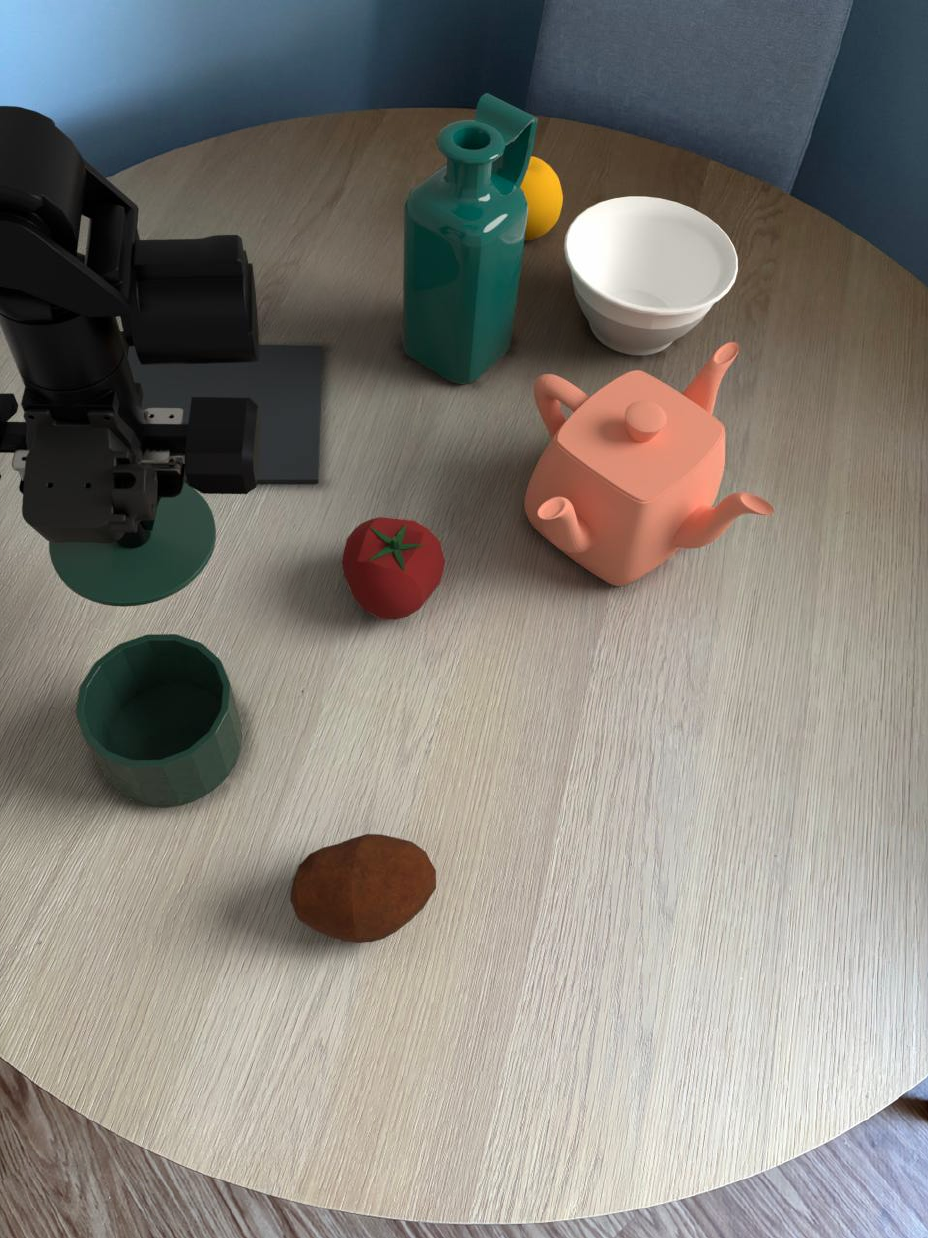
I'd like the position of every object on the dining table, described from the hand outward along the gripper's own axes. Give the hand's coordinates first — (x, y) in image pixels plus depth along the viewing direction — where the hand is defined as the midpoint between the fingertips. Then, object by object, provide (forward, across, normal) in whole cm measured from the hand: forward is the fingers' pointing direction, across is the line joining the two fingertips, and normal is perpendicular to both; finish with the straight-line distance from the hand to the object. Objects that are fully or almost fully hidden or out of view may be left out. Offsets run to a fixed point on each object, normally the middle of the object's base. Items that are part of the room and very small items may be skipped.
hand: (129, 525), depth 70 cm
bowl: (+13, +41, +34) cm, 55 cm away
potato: (+13, +16, -22) cm, 30 cm away
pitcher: (+13, +24, +31) cm, 42 cm away
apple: (+13, +31, +48) cm, 59 cm away
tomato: (+13, +18, +3) cm, 22 cm away
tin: (+13, +2, -10) cm, 16 cm away
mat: (+13, +2, +22) cm, 26 cm away
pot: (+13, +38, +10) cm, 41 cm away
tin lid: (+2, 0, 0) cm, 2 cm away
